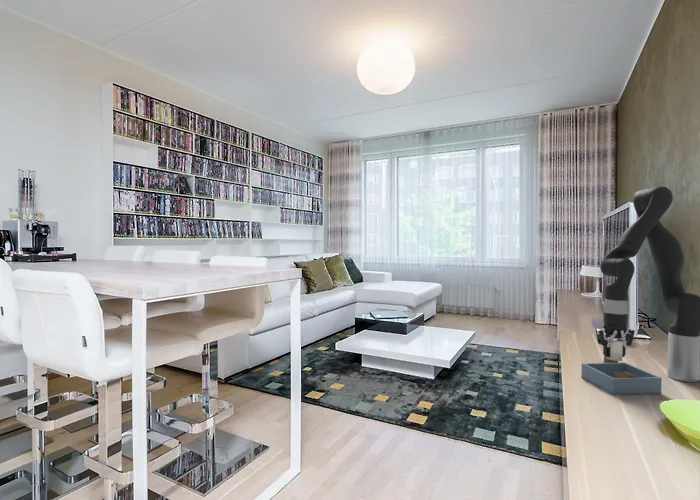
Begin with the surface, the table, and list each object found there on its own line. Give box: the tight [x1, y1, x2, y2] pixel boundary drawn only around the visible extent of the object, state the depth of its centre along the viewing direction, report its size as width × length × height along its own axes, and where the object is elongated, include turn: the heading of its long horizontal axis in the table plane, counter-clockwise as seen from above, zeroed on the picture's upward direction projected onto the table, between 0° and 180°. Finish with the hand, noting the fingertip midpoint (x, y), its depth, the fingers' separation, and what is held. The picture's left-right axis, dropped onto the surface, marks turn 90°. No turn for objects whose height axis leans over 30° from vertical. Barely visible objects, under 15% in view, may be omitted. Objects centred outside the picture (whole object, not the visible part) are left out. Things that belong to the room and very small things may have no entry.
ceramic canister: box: [606, 339, 623, 362], centre depth 146 cm, size 5×5×7 cm
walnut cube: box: [613, 372, 638, 378], centre depth 139 cm, size 5×5×5 cm
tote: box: [581, 362, 663, 396], centre depth 143 cm, size 18×17×6 cm
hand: (614, 356), depth 146 cm, fingers closed on ceramic canister, 5 cm apart
